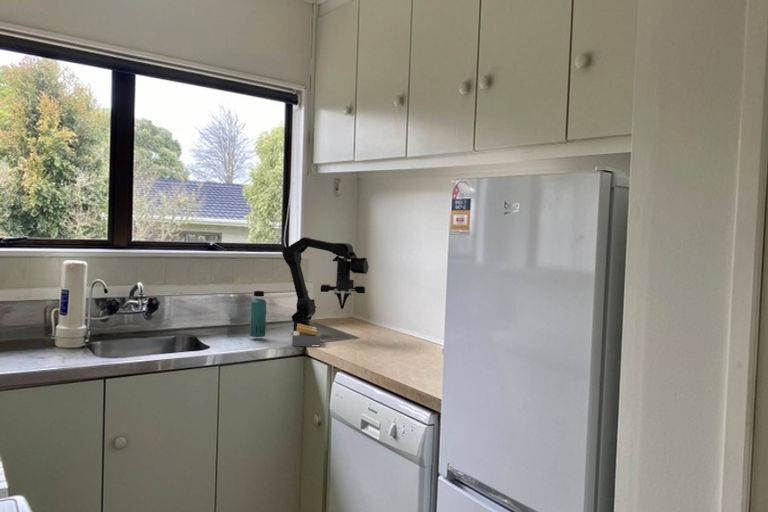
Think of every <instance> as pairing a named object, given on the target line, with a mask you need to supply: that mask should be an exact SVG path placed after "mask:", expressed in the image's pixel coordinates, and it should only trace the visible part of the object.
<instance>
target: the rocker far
mask: <svg viewBox="0 0 768 512" xmlns="http://www.w3.org/2000/svg"><path fill="white" fill-rule="evenodd" d="M297 326H301V327H305V328H310V329H314V330H317V329H318V328H317V327H315V326H312V325H311V326H307V325H303V324H299V323H298V324H297ZM317 331H318V330H317Z"/></svg>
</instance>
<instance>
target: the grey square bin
mask: <svg viewBox="0 0 768 512" xmlns="http://www.w3.org/2000/svg"><path fill="white" fill-rule="evenodd" d="M292 333H293V335H292V340H291V346H292V347H313V346H312V345H320V346H321V338H322V337H321V331H317V334H316V335H313V334H308V333H304V332H299V331H292Z"/></svg>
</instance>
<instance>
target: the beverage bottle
mask: <svg viewBox="0 0 768 512" xmlns="http://www.w3.org/2000/svg"><path fill="white" fill-rule="evenodd" d="M253 296H254V297H265V291H263V290H254V292H253ZM266 318H267V301H266V300H265V298H253V299H252V300H251V301H250V319H249V323H250V324H249V336H250V337H253V338H262V337H265V336H266V330H267V328H266V327H267V326H266V323H267V321H266Z"/></svg>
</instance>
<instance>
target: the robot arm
mask: <svg viewBox="0 0 768 512" xmlns="http://www.w3.org/2000/svg"><path fill="white" fill-rule="evenodd" d="M307 248H312V249H318V250H323V251H327V252H329V253H331V254H333V255H336V256H335V257H334V258H333V259H332V262H336V263H337V265H336V281H335V282H336V283H335V286H331V284H326V283H322V284H321V285H320V292H322V293H328V292H330V291H333V294H334V295H336V296H337V299H338V303H339V306H340V310H343V309H344V307H345V305H346V302H347V299H348V298H349V296H352V292H356V293H357V294H365V293H366V287H365V286H364V285H355V286H354V284H355V283H354V282H355V280H354V279H351V273H352V274H358V275H359V274H360V275H366V274H367V273H369V268H370V267H369V262H368V258H367V257H358V256H357V255H356V253H355V252H354V248H353V246H352V244H351V243H348V242H330V241H326V240H320V239H315V238H312V237H307V236H306V237H305V236H303V237H301V238H299V240H297V241H296V242H294V243H292V244H290V245H288V246H285V247H284V248H283V250H282V252H281V253H282V256H283V259H284V261H285V263H286V265H288V267H289V271H290V273H291V278H292V283H293V285H294V291H295V293H296V297H297V300H296V312H295V313H293V314H292V315H291V320H292V322H293V329H292V330H293V331H296V330H297V324H298V323H299V324H303V325H307V326H311V327H312V325H311V323H310V322H311V320H312V317H313V316H314V315H315V314H316V309H317V306H316V303H315V299H314V298H312V299H311V298H310V297H309V294H308V290H307V287H306V282H305V279H304V274H303V270H302V266H301V264H302V254H303V253H304V252H305V251H306V250H307ZM342 292H344V293H343V298H342ZM293 331H292V333H291V335H292V336H293Z"/></svg>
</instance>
